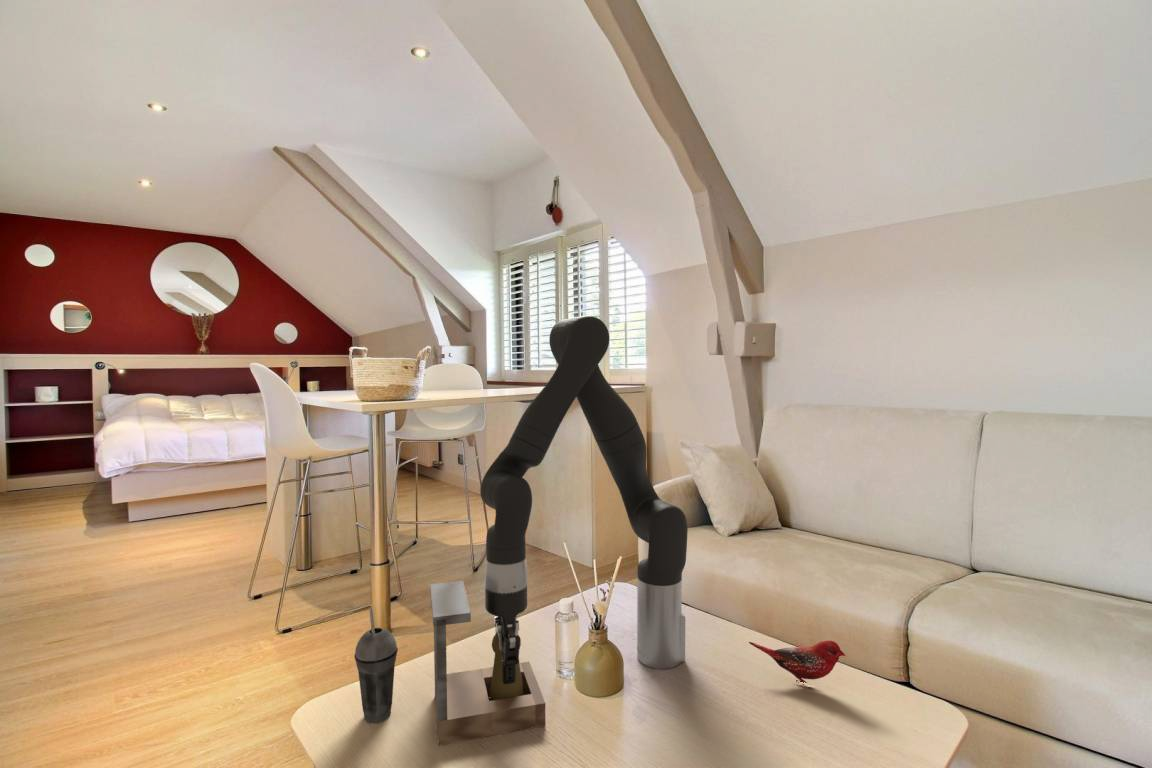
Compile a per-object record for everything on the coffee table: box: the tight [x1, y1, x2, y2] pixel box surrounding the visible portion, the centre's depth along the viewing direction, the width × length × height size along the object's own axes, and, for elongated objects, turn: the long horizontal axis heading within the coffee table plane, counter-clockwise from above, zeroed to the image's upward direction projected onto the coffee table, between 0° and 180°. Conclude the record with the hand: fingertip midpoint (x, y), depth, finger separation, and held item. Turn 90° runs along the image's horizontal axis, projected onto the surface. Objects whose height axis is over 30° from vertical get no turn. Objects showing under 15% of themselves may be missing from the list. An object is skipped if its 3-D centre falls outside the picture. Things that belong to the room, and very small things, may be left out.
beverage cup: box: [353, 607, 399, 724], centre depth 102 cm, size 7×7×20 cm
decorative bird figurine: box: [748, 640, 847, 683], centre depth 112 cm, size 3×18×10 cm, turn 62°
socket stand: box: [429, 580, 546, 746], centre depth 103 cm, size 18×14×22 cm
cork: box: [490, 633, 524, 701], centre depth 104 cm, size 6×6×11 cm
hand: (506, 675), depth 105 cm, fingers closed on cork, 4 cm apart
